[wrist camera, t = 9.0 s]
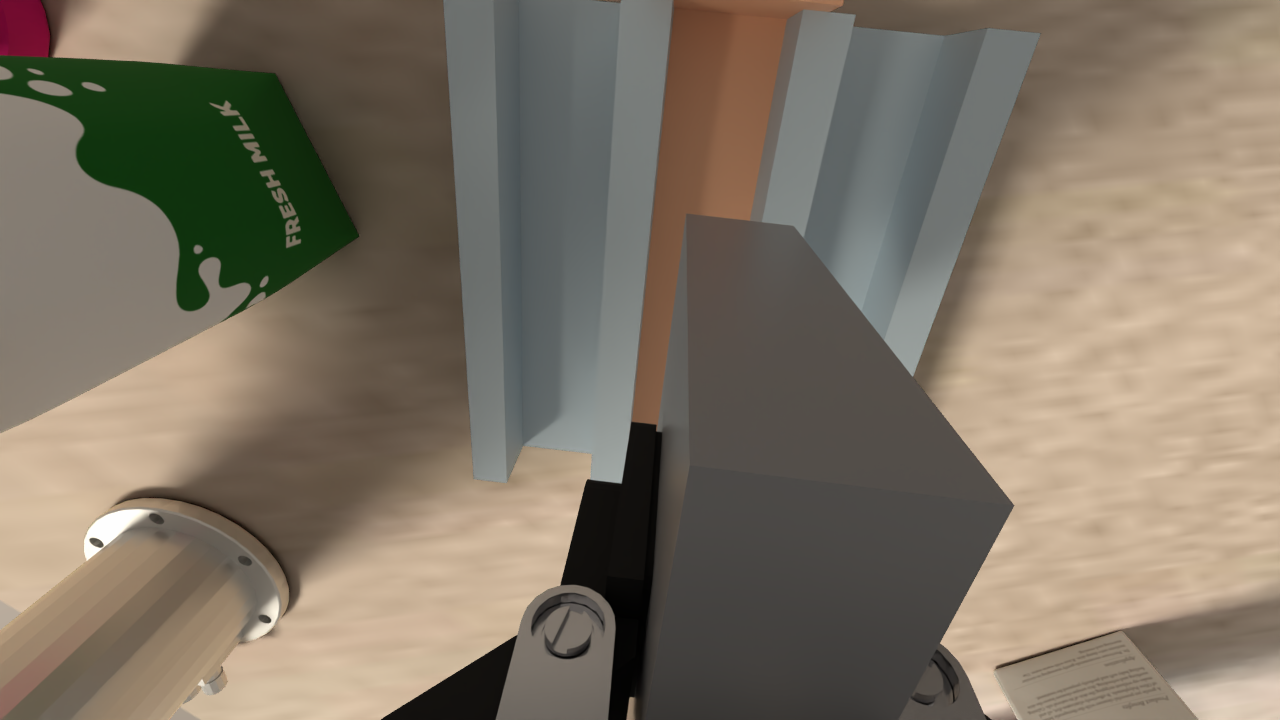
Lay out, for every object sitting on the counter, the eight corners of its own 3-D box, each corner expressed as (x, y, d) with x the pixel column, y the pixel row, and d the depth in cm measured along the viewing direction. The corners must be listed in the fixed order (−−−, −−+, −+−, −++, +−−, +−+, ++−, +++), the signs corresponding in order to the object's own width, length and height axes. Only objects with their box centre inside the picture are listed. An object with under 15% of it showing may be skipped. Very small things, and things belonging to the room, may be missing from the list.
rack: (836, 470, 29) (867, 548, 24) (498, 431, 29) (462, 500, 25) (989, 4, 19) (1093, -24, 14) (482, -47, 20) (416, -91, 15)
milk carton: (387, 249, 25) (-324, 649, 7) (228, 296, 27) (-664, 714, 9) (282, 39, 21) (-1649, -175, 4) (105, 109, 23) (-1814, 192, 5)
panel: (686, 213, 12) (689, 464, 4) (793, 225, 12) (1013, 505, 4) (641, 541, 17) (602, 966, 9) (719, 551, 17) (753, 988, 9)
